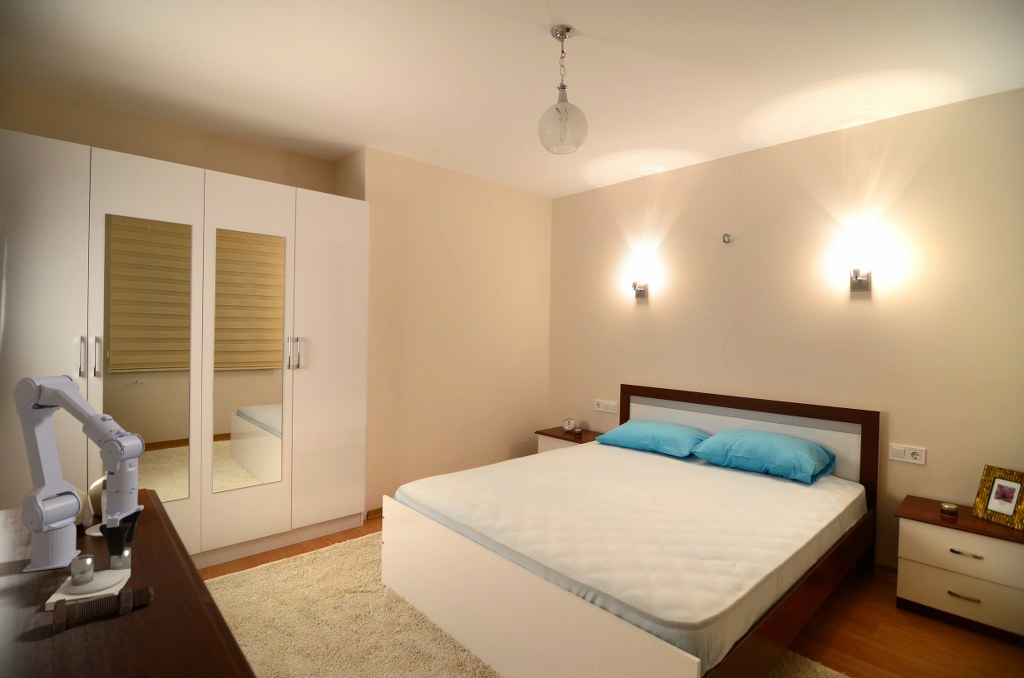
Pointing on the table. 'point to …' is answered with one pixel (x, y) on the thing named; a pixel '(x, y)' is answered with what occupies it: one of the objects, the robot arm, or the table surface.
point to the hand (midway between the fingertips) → (121, 548)
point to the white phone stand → (95, 529)
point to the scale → (91, 588)
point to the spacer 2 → (122, 560)
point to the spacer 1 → (82, 570)
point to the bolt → (99, 606)
